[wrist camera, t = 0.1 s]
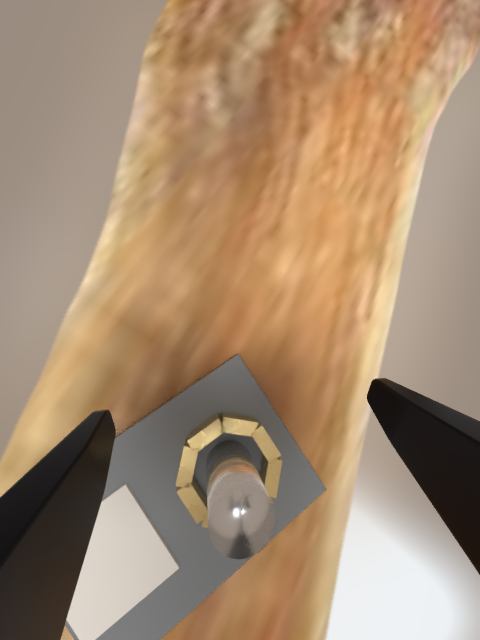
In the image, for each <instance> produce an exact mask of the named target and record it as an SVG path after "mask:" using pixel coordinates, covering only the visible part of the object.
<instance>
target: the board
mask: <svg viewBox="0 0 480 640" xmlns="http://www.w3.org/2000/svg"><path fill="white" fill-rule="evenodd" d="M222 412H224V413H230V414H236V415H242V416H248V417H254V418H255V419H256V421H259V422H260V423H261V425H262V426H263V428H264V429H265V431H266V432H267V434H268V435H269V437H270V438H271V440H272V441H273V443H274V444H275V446H276V447H277V449H278V451H279V452H280V454H281V456H280V458H281V459H282V466H281V472H280V479H279V485H278V491H277V497H276V498H271V499H272V501H273V504H272V505H273V508H274V512H275V525H274V529H273V532H272V535H271V537H270V539H269V541H270V540H271V539H272V538H273V537H274V536H276V535H277V534H278V533H279V532H280V531H281V530H282V529H283V528H284V527H286V526H287V525H288V524H289V523H290V522H291V521H292V520H293V519H294V518H296V517H297V516H298V515H299V514H300V513H301V512H302V511H303V510H304V509H305V508H307V507H308V506H309V505H310V504H311V503H312V502H313V501H314V500H315V499H317V498H318V497H319V496H320V495H321V494H322V493H323V492H324V491H325V490H327V489H326V488H325V486H324V485H323V483H322V482H321V480H320V479H319V477H318V476H317V474H316V472H315V471H314V469H313V468H312V466H311V465H310V463H309V462H308V460H307V459H306V457H305V456H304V454H303V453H302V451H301V449H300V448H299V446H298V445H297V443H296V442H295V440H294V439H293V437H292V436H291V434H290V433H289V431H288V430H287V428H286V426H285V425H284V423H283V422H282V420H281V419H280V417H279V416H278V414H277V413H276V411H275V410H274V408H273V407H272V405H271V403H270V402H269V400H268V399H267V397H266V396H265V394H264V393H263V391H262V390H261V388H260V387H259V385H258V384H257V382H256V380H255V379H254V377H253V376H252V374H251V373H250V371H249V370H248V368H247V367H246V365H245V364H244V362H243V361H242V359H241V357H240V356H239V354H236V355H235V356H233V357H232V358H230V359H229V360H227V361H226V362H224V363H223V364H221V365H220V366H219V367H217V368H216V369H214V370H213V371H211V372H210V373H208V374H207V375H205V376H204V377H202V378H201V379H200V380H198V381H197V382H195V383H194V384H192V385H191V386H189V387H188V388H186V389H185V390H183V391H182V392H181V393H179V394H178V395H176V396H175V397H173V398H172V399H170V400H169V401H167V402H166V403H164V404H163V405H161V406H160V407H159V408H157V409H156V410H154V411H153V412H151V413H150V414H148V415H147V416H145V417H144V418H142V419H141V420H140V421H138V422H137V423H135V424H134V425H132V426H131V427H129V428H128V429H126V430H125V431H123V432H122V433H120V434H119V435H118V436H116V437H115V440H114V445H113V450H112V456H111V461H110V466H109V471H108V477H107V482H106V487H105V491H104V495H103V498H102V500H103V499H105V498H106V497H107V496H109V495H110V494H112V493H113V492H114V491H116V490H117V489H118V488H120V487H121V486H122V485H124V484H125V483H127V484H128V486H129V487H130V489H131V490H132V492H133V493H134V495H135V497H136V498H137V500H138V501H139V503H140V504H141V506H142V507H143V509H144V511H145V512H146V514H147V515H148V517H149V518H150V520H151V521H152V523H153V524H154V526H155V528H156V529H157V531H158V532H159V534H160V535H161V537H162V538H163V540H164V542H165V543H166V545H167V546H168V548H169V549H170V551H171V552H172V554H173V556H174V557H175V559H176V560H177V562H178V563H179V569H178V570H177V571H175V572H174V573H173V574H172V575H171V576H170V577H168V578H167V579H166V580H165V581H164V582H162V583H161V584H160V585H159V586H158V587H157V588H155V589H154V590H153V591H152V592H151V593H150V594H148V595H147V596H146V597H145V598H144V599H142V600H141V601H140V602H139V603H138V604H137V605H135V606H134V607H133V608H132V609H131V610H130V611H128V612H127V613H126V614H125V615H124V616H122V617H121V618H120V619H119V620H118V621H117V622H115V623H114V624H113V625H112V626H111V627H110V628H108V629H107V630H106V631H105V632H104V633H102V634H101V635H100V636H99V637H98V638H97V639H95V640H160V639H161V638H162V637H164V636H165V635H166V634H167V633H168V632H169V631H170V630H171V629H172V628H174V627H175V626H176V625H177V624H178V623H179V622H180V621H181V620H182V619H184V618H185V617H186V616H187V615H188V614H189V613H190V612H191V611H192V610H194V609H195V608H196V607H197V606H198V605H199V604H200V603H201V602H202V601H204V600H205V599H206V598H207V597H208V596H209V595H210V594H211V593H212V592H213V591H215V590H216V589H217V588H218V587H219V586H220V585H221V584H222V583H223V582H225V581H226V580H227V579H228V578H229V577H230V576H231V575H232V574H233V573H235V572H236V571H237V570H238V569H239V568H240V567H241V566H242V565H243V564H245V563H246V562H247V561H248V560H249V559H250V558H251V557H252V556H251V557H249V558H245V559H231V558H228V557H226V556H224V555H222V554H221V553H219V552H218V551H217V550H216V548H215V547H214V545H213V544H212V542H211V539H210V536H209V530H208V528H205V527H202V521H200V522H199V523H198V524H197V523H196V522H195V520H194V519H193V517H192V516H191V514H190V513H189V511H188V509H187V508H186V506H185V505H184V503H183V502H182V500H181V499H180V497H179V495H178V494H177V492H176V491H177V486H175V485H176V480H177V475H178V470H179V466H180V461H181V457H182V452H183V447H184V443H185V439H188V434H190V433H191V432H192V431H194V430H195V429H197V428H198V427H199V426H201V425H202V424H203V423H205V422H206V421H208V420H209V419H210V418H212V417H213V416H214V415H216V414H218V415H219V417H220V418H221V415H222ZM226 440H235V441H238V442H240V443H242V444H243V445H244V446H245V447H246V448H247V449H248V451H249V453H250V455H251V458H252V460H253V462H254V464H255V467H256V469H257V471H258V473H259V475H260V474H261V468H262V462H263V456H264V454H263V452H262V451H261V449H260V448H259V446H258V445H257V443H256V442H255V440H254V439H253V437H250V436H244V435H237V434H231V433H222V434H221V435H220V436H218V437H217V438H216V439H214V440H213V441H212V442H210V443H209V444H208V445H206V446H205V447H204V448H202V449H201V450H200V451H198V454H197V459H196V464H195V469H194V474H193V477H194V478H195V480H196V481H197V483H198V485H199V486H200V488H201V489H202V491H203V492H204V494H205V495H206V497H207V479H206V461H207V457H208V455H209V453H210V451H211V450H212V449H213V448H214V447H215V446H216V445H217V444H218V443H220V442H222V441H226ZM269 541H268V542H269ZM268 542H267V543H268ZM65 625H66V627H67V629H68V630H69V632H70V633H71V635H72V636H73V638H74V640H79V639H78V637H77V635H76V634H75V632H74V631H73V629H72V628H71V626H70V625H69V623H68V621H67V620H66V622H65Z"/></svg>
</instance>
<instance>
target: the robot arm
mask: <svg viewBox="0 0 480 640" xmlns="http://www.w3.org/2000/svg"><path fill="white" fill-rule="evenodd" d="M367 401H368V403H369V405H370V407H371V409H372V410H373V412H374V414H375V416H376V417H377V419H378V421H379V423H380V425H381V426H382V428H383V430H384V432H385V434H386V435H387V437H388V439H389V440H390V442H391V444H392V445H393V447H394V448H395V449H396V451H397V453H398V454H399V456H400V457H401V459H402V460H403V462H404V463H405V465H406V466H407V468H408V469H409V470H410V472H411V473H412V475H413V477H414V478H415V479H416V481H417V482H418V484H419V485H420V487H421V488H422V490H423V491H424V493H425V494H426V496H427V497H428V499H429V500H430V502H431V503H432V505H433V506H434V508H435V509H436V511H437V512H438V514H439V515H440V516H441V518H442V520H443V521H444V522H445V524H446V525H447V527H448V528H449V530H450V531H451V533H452V534H453V536H454V537H455V539H456V540H457V542H458V543H459V545H460V546H461V548H462V549H463V551H464V552H465V554H466V555H467V557H468V558H469V560H470V561H471V562H472V564H473V565H474V567H475V568H476V570H477V571H478V573H479V574H480V421H478V420H476V419H473V418H471V417H469V416H467V415H464V414H462V413H460V412H458V411H456V410H454V409H451V408H449V407H447V406H445V405H443V404H440V403H438V402H436V401H434V400H432V399H430V398H427V397H425V396H423V395H421V394H419V393H417V392H414V391H412V390H410V389H408V388H406V387H404V386H401V385H399V384H397V383H395V382H393V381H390V380H388V379H386V378H378V379H374V380H373V381H372V382H371V385H370V388H369V391H368V394H367ZM115 433H116V432H115V426H114V422H113V419H112V416H111V413H110V411H109V410H100V411H94V412H93V413H91V414H90V415H89V416H88V417H87V418H86V419H85V420H84V421H83V422H81V423H80V424H79V425H78V426H77V427H76V428H75V429H74V430H73V431H72V432H71V433H70V434H68V435H67V436H66V437H65V438H64V439H63V440H62V441H61V442H60V443H59V444H58V445H56V446H55V447H54V448H53V449H52V450H51V451H50V452H49V453H48V454H47V455H46V456H45V457H43V458H42V459H41V460H40V461H39V462H38V463H37V464H36V465H35V466H34V467H33V468H32V469H30V470H29V471H28V472H27V473H26V474H25V475H24V476H23V477H22V478H21V479H20V480H19V481H17V482H16V483H15V484H14V485H13V486H12V487H11V488H10V489H9V490H8V491H7V492H5V493H4V494H3V495H2V496H1V497H0V640H60V639H61V636H62V632H63V629H64V626H65V622H66V619H67V616H68V612H69V609H70V606H71V602H72V599H73V596H74V592H75V589H76V586H77V582H78V579H79V575H80V572H81V569H82V565H83V562H84V559H85V555H86V552H87V549H88V545H89V542H90V539H91V535H92V532H93V529H94V525H95V522H96V519H97V515H98V512H99V509H100V505H101V502H102V498H103V495H104V491H105V487H106V482H107V477H108V471H109V466H110V461H111V456H112V450H113V445H114V440H115Z"/></svg>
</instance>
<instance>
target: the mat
mask: <svg viewBox="0 0 480 640" xmlns="http://www.w3.org/2000/svg"><path fill="white" fill-rule="evenodd" d="M178 569H179V563H178V562H177V560H176V559H175V557H174V556H173V554H172V552H171V551H170V549H169V548H168V546H167V545H166V543H165V542H164V540H163V538H162V537H161V535H160V534H159V532H158V531H157V529H156V528H155V526H154V524H153V523H152V521H151V520H150V518H149V517H148V515H147V514H146V512H145V511H144V509H143V507H142V506H141V504H140V503H139V501H138V500H137V498H136V497H135V495H134V493H133V492H132V490H131V489H130V487H129V486H128V484H127V483H125V484H124V485H122V486H121V487H120V488H118V489H117V490H116V491H114V492H113V493H112V494H110V495H109V496H107V497H106V498H105V499H103V500H102V502H101V505H100V509H99V512H98V515H97V519H96V522H95V525H94V529H93V532H92V535H91V539H90V542H89V545H88V549H87V552H86V555H85V559H84V562H83V565H82V569H81V572H80V575H79V579H78V582H77V586H76V589H75V592H74V596H73V599H72V602H71V606H70V609H69V612H68V616H67V619H66V620H67V621H68V623H69V625H70V626H71V628H72V629H73V631H74V632H75V634H76V635H77V637H78V639H79V640H95V639H97V638H98V637H99V636H100V635H101V634H102V633H104V632H105V631H106V630H107V629H108V628H110V627H111V626H112V625H113V624H114V623H115V622H117V621H118V620H119V619H120V618H121V617H122V616H124V615H125V614H126V613H127V612H128V611H130V610H131V609H132V608H133V607H134V606H135V605H137V604H138V603H139V602H140V601H141V600H142V599H144V598H145V597H146V596H147V595H148V594H150V593H151V592H152V591H153V590H154V589H155V588H157V587H158V586H159V585H160V584H161V583H162V582H164V581H165V580H166V579H167V578H168V577H170V576H171V575H172V574H173V573H174V572H175V571H177V570H178Z"/></svg>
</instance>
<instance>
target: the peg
mask: <svg viewBox="0 0 480 640" xmlns="http://www.w3.org/2000/svg"><path fill="white" fill-rule="evenodd" d="M206 479H207V507H208V530H209V536H210V539H211V542H212V544H213V545H214V547H215V548H216V550H217V551H218V552H219V553H221V554H222V555H224V556H226V557H228V558H231V559H245V558H249V557H251V556H253V555H255V554H257V553H258V552H259V551H260V550H262V549H263V547H264V546H265V545H266V544H267V542H268V541H269V539H270V537H271V535H272V532H273V529H274V525H275V512H274V508H273V505H272V502H271V500H270V498H269V495H268V493H267V491H266V489H265V487H264V484H263V482H262V480H261V478H260V475H259V473H258V471H257V469H256V467H255V464H254V462H253V460H252V458H251V455H250V453H249V451H248V449H247V448H246V447H245V446H244V445H243V444H242V443H240V442H238V441H235V440H226V441H222V442H220V443H218V444H217V445H216V446H215V447H214V448H213V449H212V450H211V451H210V453H209V455H208V457H207V461H206Z"/></svg>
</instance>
